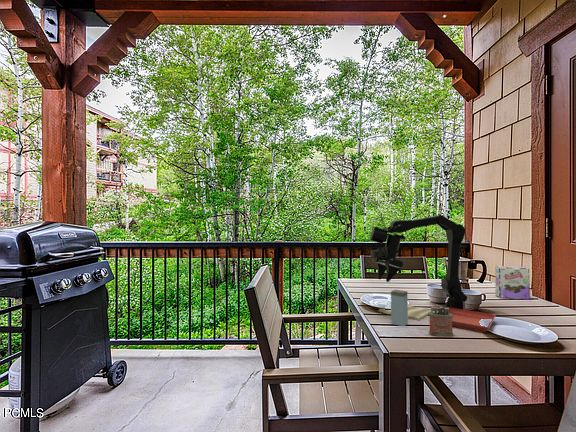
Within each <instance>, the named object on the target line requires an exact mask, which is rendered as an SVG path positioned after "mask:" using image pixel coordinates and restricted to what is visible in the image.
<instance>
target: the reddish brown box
mask: <svg viewBox="0 0 576 432" xmlns="http://www.w3.org/2000/svg"><path fill="white" fill-rule="evenodd" d="M430 310H431V311H433V312H432V313H429V315H428V317H429V330H428V332H429V333H428V334H429V335H430V336H433V337H453V336H454V332H453V326H452V317H453V314H450V313H449V308H447V307H443V306H441V305H440V306H439V307H438V306H431V307H430ZM445 311H446V313H445Z"/></svg>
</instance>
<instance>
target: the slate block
mask: <svg viewBox="0 0 576 432" xmlns="http://www.w3.org/2000/svg"><path fill="white" fill-rule="evenodd" d="M408 299H409V298H408V291H405V290H401V289H393V290H391V291H390V305H391V314H390V316H391V317H390V318H391V319H390V320H391V322H390V323H391V324H392V325H395V326H396V325H397V326H400V327H403V328H404V327H405V326H407V325H408V324H409V321H408V320H409V318H408V305H409V304H408Z"/></svg>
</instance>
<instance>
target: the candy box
mask: <svg viewBox="0 0 576 432" xmlns="http://www.w3.org/2000/svg"><path fill="white" fill-rule="evenodd" d="M494 272H495V274H494V275H495V277H494V278H495V280H494V282H495V284H494V285H495V286H494V287H495V291H494V292H495V296H496V297H497V298H499V299H508V300H509V299H511V300H526V301H528V300H529V301H530V300H531V296H530V293H531V291H530V268H528V267H525V266H509V265H508V266H506V265H505V266H503V265H502V266H501V265H495V271H494Z"/></svg>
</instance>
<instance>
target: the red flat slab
mask: <svg viewBox="0 0 576 432" xmlns="http://www.w3.org/2000/svg"><path fill="white" fill-rule="evenodd" d="M446 308H449V313H450V314H453V317H452V327H456V328H460V329H465V330H470V331H474V332H481V333H486V332H487V331H488V330H489V329H490V327H491V325H492V323H493V322H494V320H495V318H496V317H497V316H496V314H492V313H491V314H490V313H485V312H480V311H473V310H468V309H465V310H462V309H456V308H450V307H447V306H446ZM445 313H446V311H445ZM481 319H492V321H491V322H490V323H489V325H488V327H485V326H481V325H480V323H479V321H480V320H481Z"/></svg>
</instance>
